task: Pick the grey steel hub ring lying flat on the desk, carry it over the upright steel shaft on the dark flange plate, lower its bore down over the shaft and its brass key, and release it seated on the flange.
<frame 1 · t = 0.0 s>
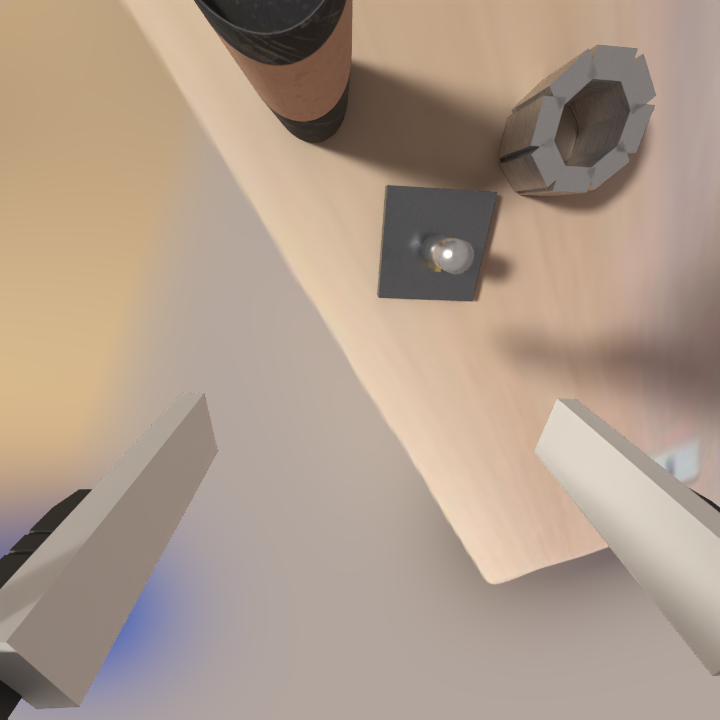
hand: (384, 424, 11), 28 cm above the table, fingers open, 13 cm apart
travel mug: (310, 98, 28), on the table
hub: (548, 141, 30), on the table
shaft block: (430, 247, 35), on the table
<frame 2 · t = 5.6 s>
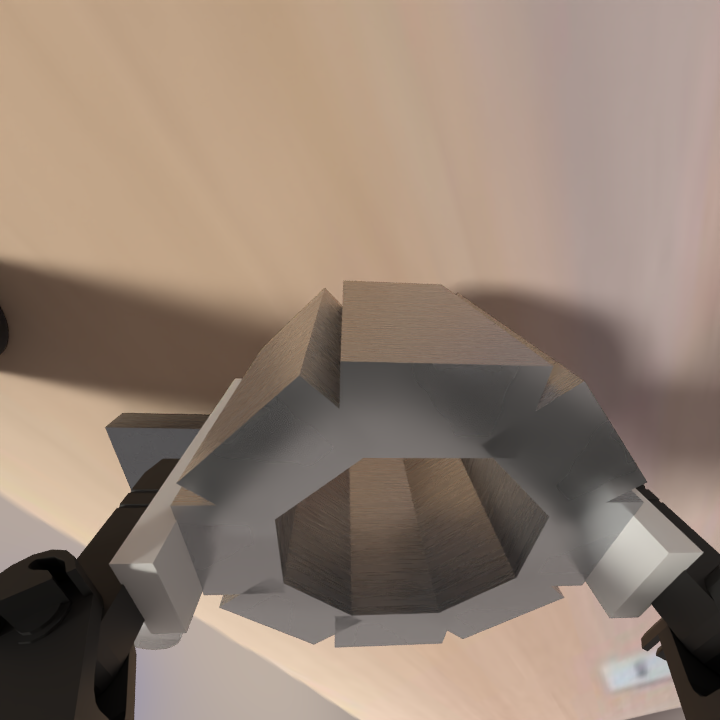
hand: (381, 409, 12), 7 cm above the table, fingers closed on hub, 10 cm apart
hub: (381, 402, 12), point 7 cm above the table, touching gripper
shaft block: (225, 477, 22), on the table
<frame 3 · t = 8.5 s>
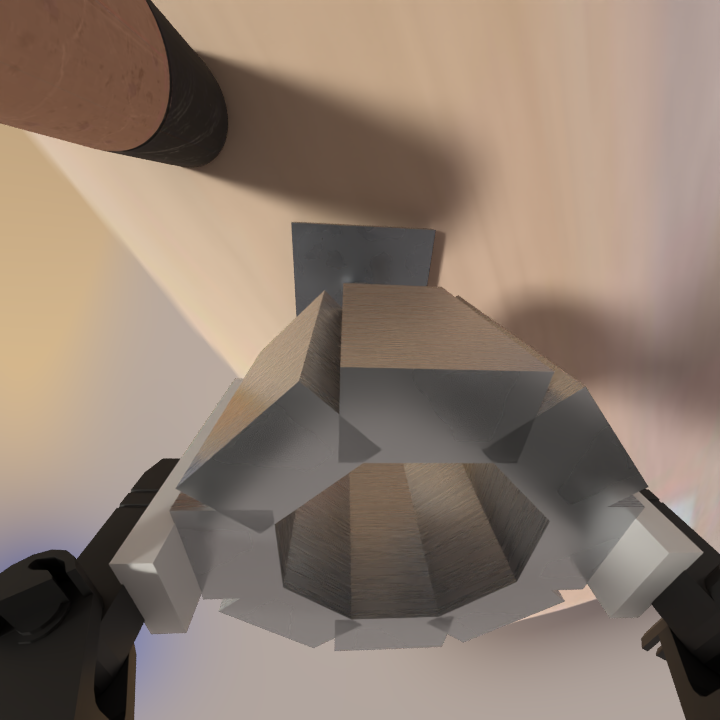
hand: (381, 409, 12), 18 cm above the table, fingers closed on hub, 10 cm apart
travel mug: (179, 110, 21), on the table
hub: (381, 404, 12), point 18 cm above the table, touching gripper
shaft block: (360, 293, 28), on the table
when the fingers open (3 cm above the table, at t = 11.7 s): hub drops 1 cm, resting on shaft block.
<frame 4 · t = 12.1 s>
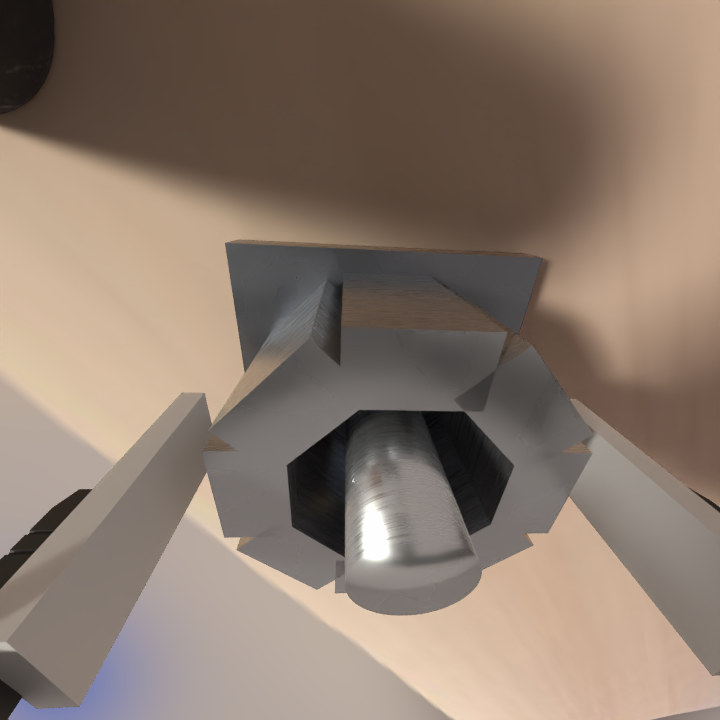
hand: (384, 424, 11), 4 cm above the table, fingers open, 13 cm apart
hub: (377, 384, 13), point 1 cm above the table, touching shaft block
shaft block: (374, 371, 15), on the table
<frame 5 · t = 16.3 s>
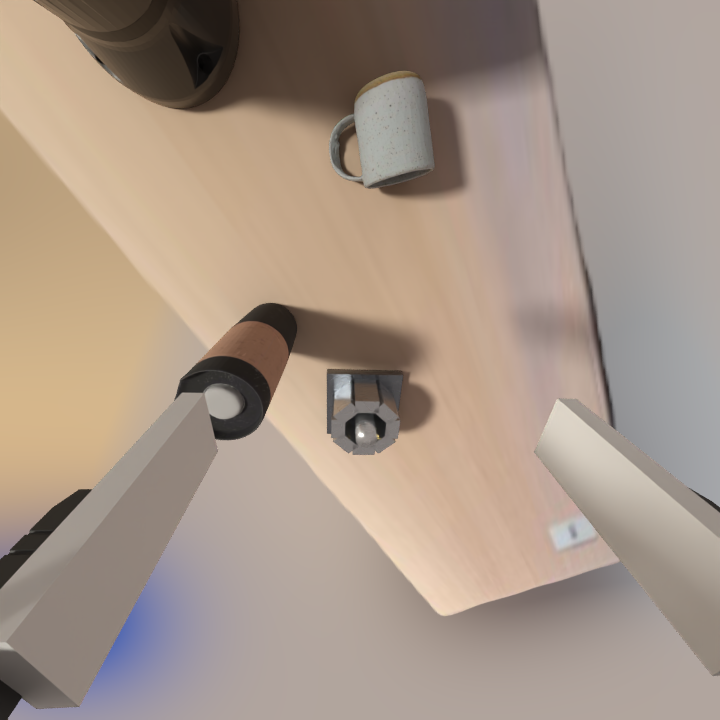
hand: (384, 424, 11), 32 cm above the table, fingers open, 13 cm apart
travel mug: (273, 325, 42), on the table
hub: (363, 405, 47), point 1 cm above the table, touching shaft block
ceramic mug: (377, 151, 33), on the table
shaft block: (362, 400, 49), on the table
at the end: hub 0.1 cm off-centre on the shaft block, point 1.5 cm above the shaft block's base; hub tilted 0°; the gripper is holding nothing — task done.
